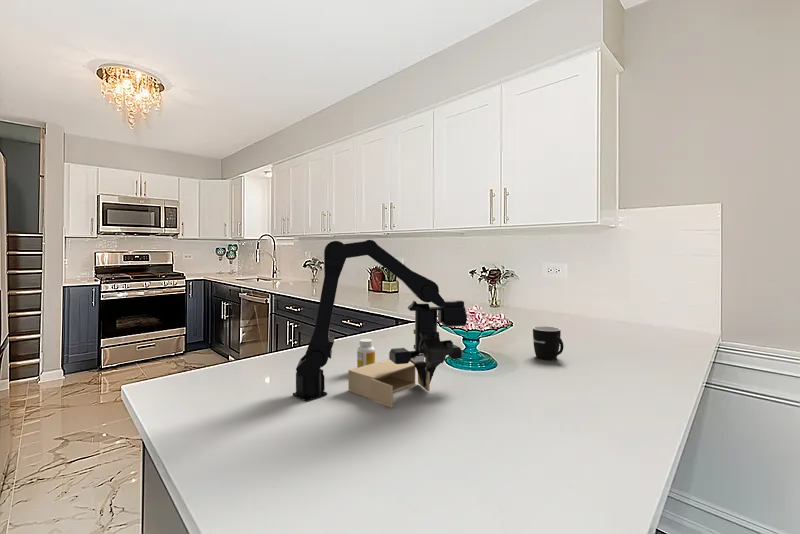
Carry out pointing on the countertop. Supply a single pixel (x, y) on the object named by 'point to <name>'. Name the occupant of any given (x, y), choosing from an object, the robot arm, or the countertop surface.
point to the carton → (381, 376)
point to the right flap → (426, 380)
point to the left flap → (382, 392)
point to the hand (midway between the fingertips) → (425, 386)
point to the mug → (547, 342)
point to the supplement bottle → (365, 353)
